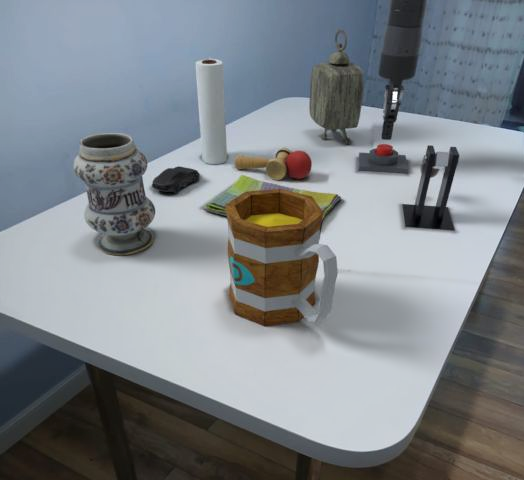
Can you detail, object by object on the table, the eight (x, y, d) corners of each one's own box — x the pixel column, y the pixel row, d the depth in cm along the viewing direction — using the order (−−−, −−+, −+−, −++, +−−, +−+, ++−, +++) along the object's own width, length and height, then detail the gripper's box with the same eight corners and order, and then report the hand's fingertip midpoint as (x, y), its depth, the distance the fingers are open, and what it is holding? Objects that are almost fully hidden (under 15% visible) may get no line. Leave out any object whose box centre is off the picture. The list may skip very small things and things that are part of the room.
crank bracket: (401, 209, 101) (415, 139, 92) (446, 212, 100) (465, 142, 91) (404, 232, 93) (419, 158, 84) (453, 236, 92) (474, 161, 83)
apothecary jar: (157, 223, 96) (143, 126, 84) (161, 254, 87) (145, 150, 75) (93, 229, 94) (69, 130, 82) (90, 262, 85) (63, 156, 73)
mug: (211, 293, 78) (204, 203, 68) (280, 267, 84) (283, 180, 74) (287, 362, 66) (292, 264, 56) (361, 326, 72) (377, 232, 62)
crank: (417, 178, 101) (420, 159, 100) (436, 179, 100) (438, 161, 99) (430, 169, 88) (433, 147, 87) (451, 170, 87) (454, 148, 87)
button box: (403, 164, 120) (407, 147, 117) (406, 178, 113) (409, 161, 110) (358, 161, 121) (360, 144, 118) (357, 175, 114) (359, 158, 111)
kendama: (231, 181, 114) (305, 182, 108) (229, 152, 111) (305, 151, 105) (245, 175, 121) (316, 175, 114) (243, 147, 118) (315, 146, 111)
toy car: (203, 179, 112) (201, 162, 110) (169, 198, 104) (167, 180, 102) (183, 174, 114) (181, 157, 112) (148, 192, 107) (146, 175, 104)
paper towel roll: (217, 166, 118) (212, 65, 104) (197, 161, 120) (189, 62, 106) (234, 157, 123) (231, 59, 108) (214, 152, 125) (209, 56, 111)
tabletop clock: (356, 146, 129) (370, 34, 112) (323, 149, 127) (332, 35, 111) (336, 129, 139) (346, 24, 123) (306, 132, 138) (312, 25, 121)
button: (391, 152, 116) (392, 144, 114) (391, 157, 113) (393, 149, 112) (375, 151, 116) (376, 143, 115) (376, 156, 113) (377, 148, 112)
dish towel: (243, 182, 111) (242, 170, 109) (346, 204, 102) (347, 191, 101) (201, 213, 99) (200, 200, 97) (313, 240, 91) (314, 227, 89)
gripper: (422, 58, 95) (404, 149, 107) (416, 45, 105) (401, 130, 117) (382, 56, 96) (369, 147, 108) (381, 44, 106) (369, 128, 118)
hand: (386, 138), depth 112 cm, fingers closed
